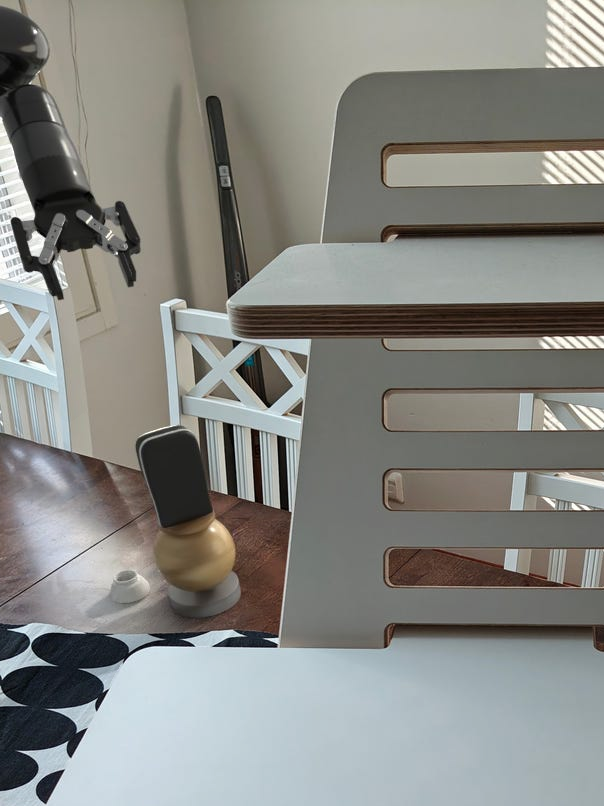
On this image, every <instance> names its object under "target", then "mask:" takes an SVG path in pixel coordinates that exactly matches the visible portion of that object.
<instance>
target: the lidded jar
mask: <svg viewBox="0 0 604 806" xmlns="http://www.w3.org/2000/svg"><path fill="white" fill-rule="evenodd" d="M156 525H157V528H158V532H157V534H156V536H155V539H154V543H153V549H152V554H153V560H154V564H155V567H156V569H157V571H158V572H159V575H160V576H161V577H162V579H164V580H165V581H166V582H167V583H168V584H169V585H168V588H167V595H168V599H169V603H170V605H171V608H172V610H173V611H174V612H175V613H176V614H178V615H179V616H182V617H185V618H189V619H190V618H191V619H204V618H210V617H213V616H218V615H220V614H222V612H223V613H224V611H225V612H227V611H228V610H230V609H232V608H233V607H234V606H235V605H236V604H237V603H238V602H239V600H240V599H241V595H242V589H241V585H240V580H239V577H238V576H237V575H238V574H237V573H235V572H234V571H233V568H234V566H235V562H236V545H235V541H234V539H233V536H232V535H231V533H230V531H229V530H228V528H227V527H226V526H225V525H224V524H223V523H222V522H221V521H219V520H218V519H216V513H215V509H213V512H212V513H210V514H207V515H205V516H202V517H199V518H196V519H193V520H191V521H188V522H184V523H181V524H178V525H175V526H171V527H167V528H163V527H161V526H160V525H159V523H158V520H157V519H156ZM209 616H210V617H209Z"/></svg>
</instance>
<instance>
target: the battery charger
mask: <svg viewBox="0 0 604 806" xmlns="http://www.w3.org/2000/svg"><path fill="white" fill-rule="evenodd" d="M134 447H135V453H136V458H137V461H138V466H139V470H140V473H141V476H142V477H143V479H144V480H145V483H146V487H147V489H148V492H149V495H150V498H151V501H152V504H153V507H154V512H155V515H156V521H157V520H158V523H159V525H160V526H161V527H163V528H167V527H171V526H175V525H178V524H181V523H184V522H188V521H191V520H193V519H196V518H199V517H202V516H205V515H207V514H210V513H212V512H213V510H214V508H213V505H212V501H211V497H210V492H209V487H208V481H207V476H206V475H207V474H206V470H205V465H204V460H203V455H202V452H201V449H200V444H199V441H198V438H197V436H196V435H195V433H194V432H193V431H191V430H190V429H188V427H186V426H184V425H181V424H174V425H169V426H165V427H162V428H158V429H154V430H152V431H149V432H146V433H143V434H141V435H140V436H138V438H137V439H136V441H135V445H134Z"/></svg>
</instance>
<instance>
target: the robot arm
mask: <svg viewBox="0 0 604 806" xmlns="http://www.w3.org/2000/svg"><path fill="white" fill-rule="evenodd" d="M45 34H46V33H44V31H43V30H42V28H41V27H40V26H39V25H38V24H37V23H36V22H35V21H34V20H32V19H31V18H30V17H29V16H27V15H26V14H24V13H22V12H21V11H18V10H17V9H14V8H11V7H8V6H4V5H0V120H1V121H2V125H3V127H4V130H5V132H6V135H7V138H8V142H9V144H10V146H11V149H12V154H13V158H14V162H15V166H16V168H17V172H18V176H19V179H20V180H21V182H22V184H23V188H24V189H25V192H26V193H25V194H26V195H27V197H28V201H29V203H30V205H31V208H32V211H33V213H34V218H33V219H29V220H28V219H27V220H22V219H21V218H19V217H18V216H13V217H11V219H10V225H11V229H12V233H13V237H14V240H15V241H14V242H15V244H16V247H17V251H18V254H19V258H20V261H21V264H22V267H23V270H24V271H25V273H29V274H31V273H33V272H36V273H40V274H41V275H42V277H43V280H44V282H45V286H46V288H47V291H48V292H49V295H50V296H51V297H56V299H57V300H58V301H63V300H65V297H64V291H63V288H62V286H61V285H62V284H61V283H60V280H59V278H58V275H57V272H56V270H55V267H54V266H55V264H56V262H58V260H59V258H60V255H61V253H62V251H65V252H67V253H73V252H76V251H77V250H89V249H94V246H96V247H98V248H99V249H100V250H102V251H104V252H105V253H109V254H111V255H112V256H114V257H115V258H117V261H118V265H119V268H120V270H121V273H122V276H123V279H124V281H125V283H126V286H127V288H134V287H135V282H137V270H136V267H135V264H134V261H133V259H132V255H139V254H140V253H141V249H142V247H141V237H140V234H139V232H138V230H137V228H136V225H135V223H134V221H133V219H132V217H131V215H130V212H129V211H128V208H127V206H126V204H125V202H124V201H122V200H117V201H116V202H115V203H114V206H109V207H105V208H103V207H102V206H100V205H99V204H98V202H97V200H96V198H95V195H94V192H93V189H92V188H91V185H90V182H89V179H88V176H87V174H86V171H85V168H84V166H83V162H82V160H81V158H80V154H79V153H78V150H77V148H76V146H75V144H74V142H73V140H72V139H71V136H70V135H69V132H68V130H67V127H66V124H65V121H64V120H63V117H62V114H61V110H60V108H59V106H58V103H57V102H56V100H55V98H54V96H53V95H52V94H51V93H50V92H49V91H48V90H47V89H46V88H44V87H42V86H40V85H37V84H31V83H32V82H33V81H34V79H35V78H36V77H37V76H38V74H39V73H40V72H41V71H42V69H43V68H44V67H45V66H46V64H47V62H48V61H49V57H50V52H51V49H50V48H51V47H50V43H49V40H48V38H47V36H46V35H45ZM107 220H109V221H111V223H112V224H113V225H114V226H116V227H120V229H121V232H122V234H123V237H124V239H125V240H122V239H121V238H120V237H118V236H117V235H115V233H114V232H113V231H112V230H111V229H110V228H109V227H107V226H105V223H106V221H107ZM35 232H37V233H38V234H39V235H40V236H41V237H42V238H44V242H43V246H42V248H41V250H40V253H39V256H38V255H32V252H31V250H30V246H29V242H30V241H31V240H32V239H33V233H35Z"/></svg>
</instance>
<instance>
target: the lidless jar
mask: <svg viewBox="0 0 604 806" xmlns="http://www.w3.org/2000/svg"><path fill="white" fill-rule="evenodd" d="M150 590H151V586H150V584H149V582H148V581H147V579H145V578H144V577H143V576H142V575H141V574H139V573H138V572H137V571H136V570H134V569H123V570H120V571H118V572H117V573H115V574H114V576H113V579H112V583H111V586H110V589H109V596H110V599H111V600H112V601H114V602H116V603H120V604H127V603H133V602H136V601H139V600H141V599H143V598H145V597H146V596H147V595H148V594H149V593H150Z"/></svg>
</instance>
